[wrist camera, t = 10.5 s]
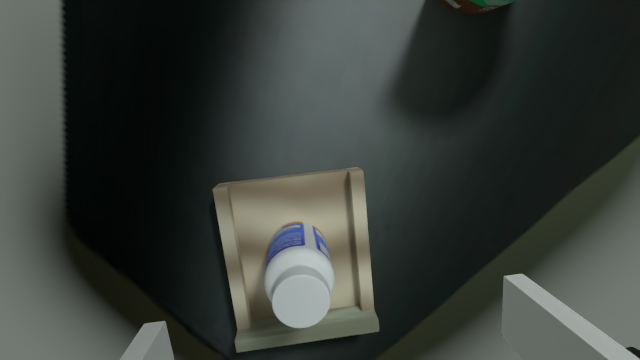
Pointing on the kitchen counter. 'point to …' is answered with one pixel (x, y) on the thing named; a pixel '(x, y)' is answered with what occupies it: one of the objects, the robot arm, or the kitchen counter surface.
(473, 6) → the food container
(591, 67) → the kitchen counter surface
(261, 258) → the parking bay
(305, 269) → the pill bottle
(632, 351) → the robot arm
